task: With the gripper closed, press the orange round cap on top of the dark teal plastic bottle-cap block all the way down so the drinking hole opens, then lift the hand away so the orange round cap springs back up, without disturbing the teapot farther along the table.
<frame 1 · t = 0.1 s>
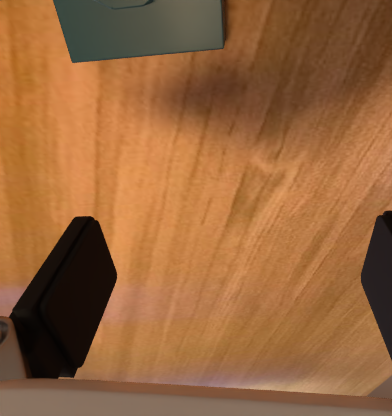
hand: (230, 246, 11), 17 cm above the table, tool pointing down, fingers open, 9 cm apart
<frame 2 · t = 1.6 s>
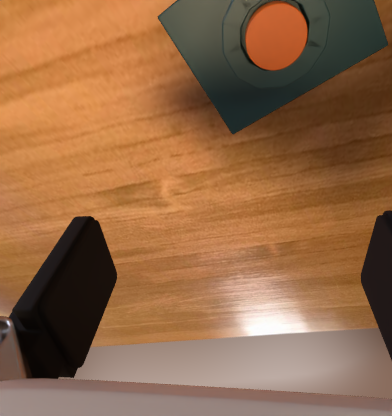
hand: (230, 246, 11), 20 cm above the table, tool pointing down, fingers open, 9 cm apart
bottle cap: (268, 24, 24), on the table
orange round cap: (274, 36, 20), point 5 cm above the table, slide at 0.1 cm
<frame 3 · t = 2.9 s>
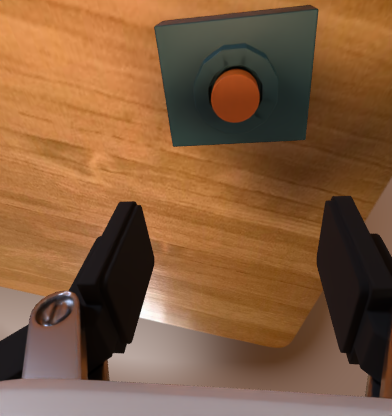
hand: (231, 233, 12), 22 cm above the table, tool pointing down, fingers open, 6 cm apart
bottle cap: (235, 77, 29), on the table
orange round cap: (235, 96, 25), point 5 cm above the table, slide at 0.1 cm
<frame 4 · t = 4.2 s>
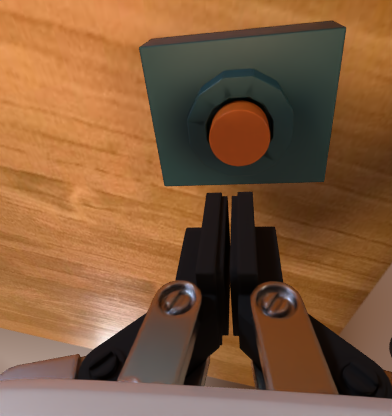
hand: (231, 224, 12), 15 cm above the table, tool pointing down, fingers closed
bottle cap: (239, 105, 24), on the table
orange round cap: (239, 133, 20), point 5 cm above the table, slide at 0.1 cm
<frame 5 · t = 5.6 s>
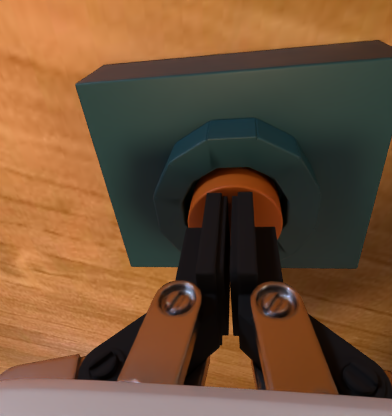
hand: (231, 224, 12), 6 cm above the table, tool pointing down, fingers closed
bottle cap: (236, 156, 17), on the table
orange round cap: (234, 212, 13), point 5 cm above the table, slide at -0.4 cm, touching gripper
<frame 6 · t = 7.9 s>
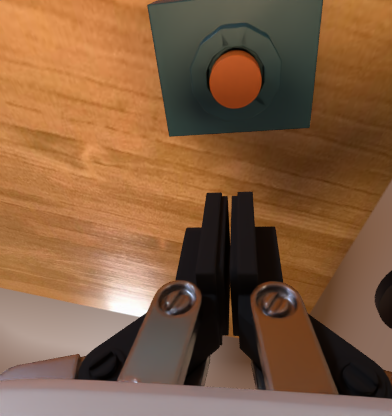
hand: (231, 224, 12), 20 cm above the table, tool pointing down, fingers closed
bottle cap: (235, 61, 27), on the table
orange round cap: (235, 79, 23), point 5 cm above the table, slide at 0.1 cm
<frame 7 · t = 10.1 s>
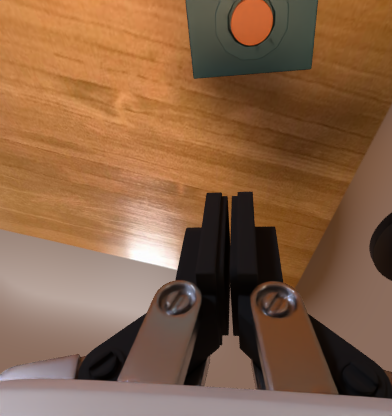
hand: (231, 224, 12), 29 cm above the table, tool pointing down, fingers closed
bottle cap: (249, 15, 33), on the table
orange round cap: (251, 21, 29), point 5 cm above the table, slide at 0.1 cm
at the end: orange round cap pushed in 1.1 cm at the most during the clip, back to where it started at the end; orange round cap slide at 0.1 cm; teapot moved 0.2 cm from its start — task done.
